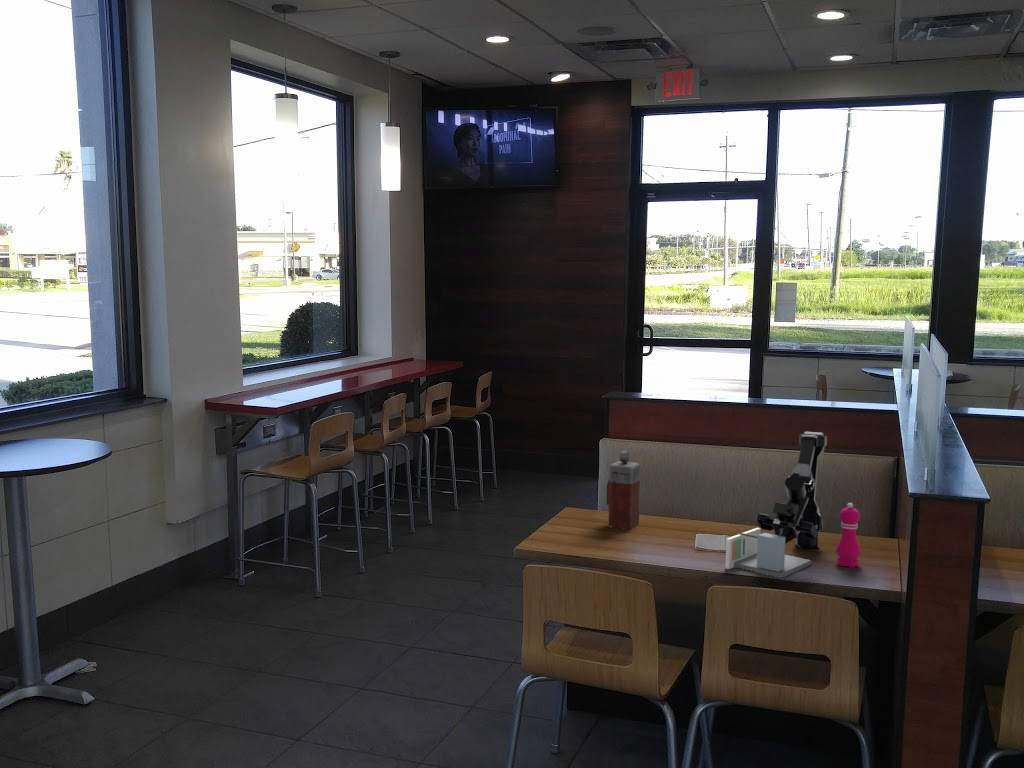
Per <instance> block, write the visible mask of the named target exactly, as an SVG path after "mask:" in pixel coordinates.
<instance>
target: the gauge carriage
mask: <svg viewBox="0 0 1024 768" xmlns="http://www.w3.org/2000/svg"><path fill="white" fill-rule="evenodd" d="M738 534H739V535H744V536H749V537H754V538H758V548H757V567H760V568H764V569H768V570H772V571H777V572H778V571H781V570H783V569H784V562H785V555H786V544H785V537H783V536H778V535H775V534H774V533H768V532H763V533H760V534H759V535H758V536H754V535H749V534H744V532H739V533H738Z"/></svg>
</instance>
